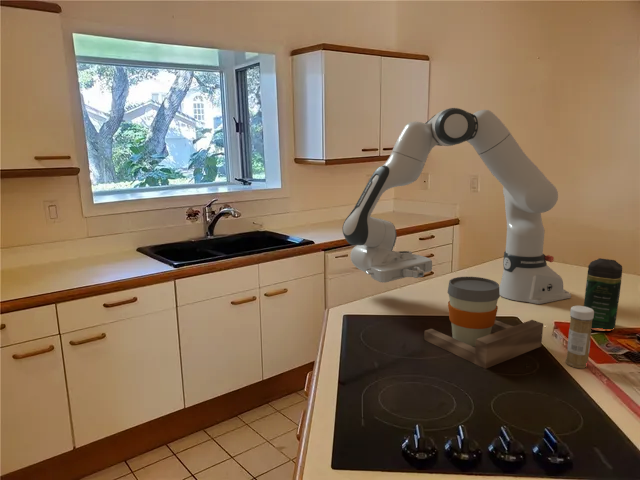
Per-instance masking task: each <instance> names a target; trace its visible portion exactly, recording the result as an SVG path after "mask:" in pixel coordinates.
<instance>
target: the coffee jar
mask: <svg viewBox="0 0 640 480" xmlns="http://www.w3.org/2000/svg"><path fill="white" fill-rule="evenodd" d="M587 268H588V269H587V273H586V283H585V291H584V292H585V293H584V300H583V306H585V307H589V308H591V309H593V310H594V318H593V320H592V328H603V329H613V328H614V329H615V328H616V322H617V315H618V307H619V302H620V295H621V294H620V293H621V286H622V275H623V266H622V264H621V263H619V262H617V260H616V259H615V260H614V259H608V258H599V257H598V259H594V260H592V261H591V262H589V264H588V266H587Z"/></svg>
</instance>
